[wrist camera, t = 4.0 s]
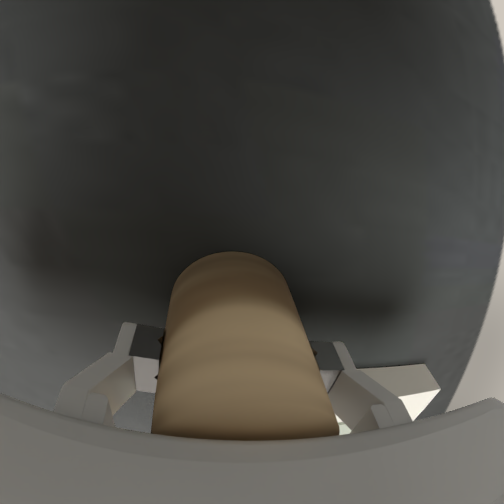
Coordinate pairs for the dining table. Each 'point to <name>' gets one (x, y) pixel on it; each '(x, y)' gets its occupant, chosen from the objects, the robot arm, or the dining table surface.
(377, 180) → the dining table surface
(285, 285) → the bread loaf
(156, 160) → the dining table surface
